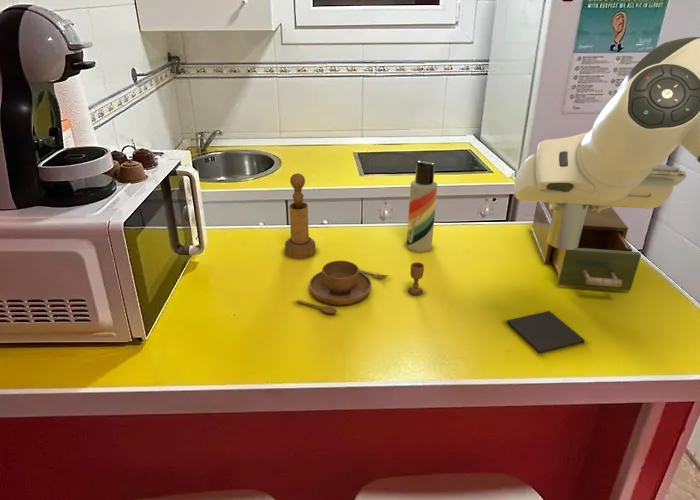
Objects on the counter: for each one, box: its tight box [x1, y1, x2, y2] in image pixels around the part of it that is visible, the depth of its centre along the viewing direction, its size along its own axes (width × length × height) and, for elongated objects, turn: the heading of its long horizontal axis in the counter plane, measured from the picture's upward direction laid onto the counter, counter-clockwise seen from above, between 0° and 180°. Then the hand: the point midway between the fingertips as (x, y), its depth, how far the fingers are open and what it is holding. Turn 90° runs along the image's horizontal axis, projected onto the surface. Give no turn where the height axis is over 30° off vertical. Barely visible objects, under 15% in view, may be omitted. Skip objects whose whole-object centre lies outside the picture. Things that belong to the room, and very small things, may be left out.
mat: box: [506, 310, 585, 355], centre depth 89 cm, size 9×9×1 cm
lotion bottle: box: [406, 159, 438, 253], centre depth 112 cm, size 6×6×20 cm
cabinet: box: [531, 202, 629, 266], centre depth 114 cm, size 17×15×10 cm
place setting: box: [296, 260, 425, 314], centre depth 97 cm, size 18×20×6 cm
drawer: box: [550, 229, 642, 291], centre depth 103 cm, size 20×13×8 cm
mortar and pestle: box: [284, 172, 317, 260], centre depth 110 cm, size 7×6×18 cm
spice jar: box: [547, 203, 588, 250], centre depth 82 cm, size 5×5×11 cm
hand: (573, 206), depth 80 cm, fingers closed on spice jar, 4 cm apart
